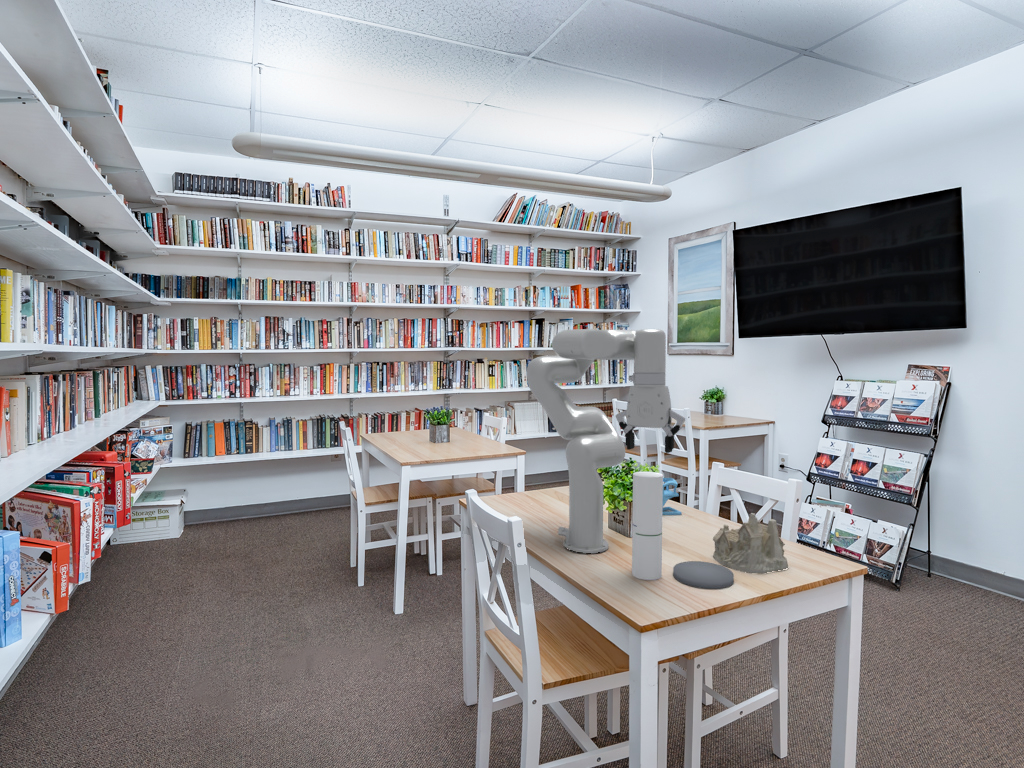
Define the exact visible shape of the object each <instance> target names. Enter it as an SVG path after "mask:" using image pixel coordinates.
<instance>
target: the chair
mask: <svg viewBox="0 0 1024 768" xmlns="http://www.w3.org/2000/svg"><path fill="white" fill-rule="evenodd" d="M678 484H679V483H678V482H677V480H675V479H674V478H673V477H663V505H662V516H666V515H667V516H681V515H682V511H681V510H679V509H676V508H674V507H671V506H665V504H666V503H667V501H669V500H670V499H672V498H674V497H675V498H676V497H679V496H680V495H679V493H677V487H678ZM669 486H673V487H674V488H673V491H672V490H670V488H669ZM668 510H669V511H668Z"/></svg>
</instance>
